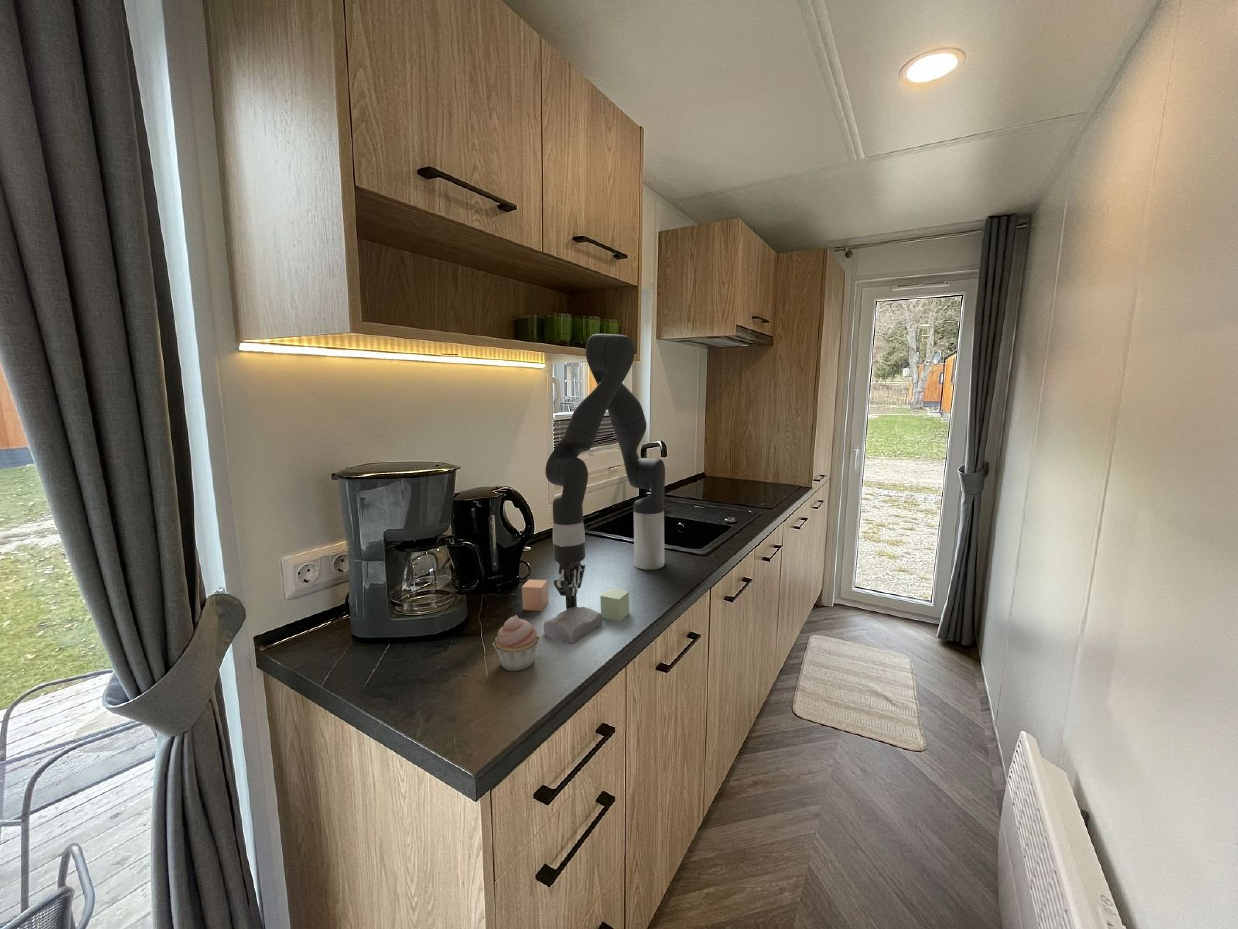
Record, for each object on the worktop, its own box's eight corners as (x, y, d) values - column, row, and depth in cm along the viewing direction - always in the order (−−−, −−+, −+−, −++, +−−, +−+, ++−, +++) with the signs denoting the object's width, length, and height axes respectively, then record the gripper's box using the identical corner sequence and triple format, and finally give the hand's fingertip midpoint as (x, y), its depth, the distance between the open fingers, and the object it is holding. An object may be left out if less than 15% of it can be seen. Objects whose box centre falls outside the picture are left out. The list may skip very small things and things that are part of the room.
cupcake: (551, 662, 99) (548, 615, 98) (510, 682, 93) (507, 631, 92) (525, 646, 106) (522, 601, 105) (485, 663, 100) (482, 616, 98)
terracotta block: (530, 601, 129) (528, 579, 128) (548, 602, 128) (547, 580, 127) (523, 609, 124) (521, 586, 123) (542, 610, 123) (541, 587, 123)
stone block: (540, 643, 111) (573, 646, 106) (536, 621, 111) (570, 624, 106) (574, 624, 121) (607, 626, 115) (571, 604, 121) (603, 606, 115)
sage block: (611, 609, 123) (610, 588, 123) (629, 613, 121) (628, 591, 120) (601, 617, 119) (600, 595, 118) (619, 621, 117) (618, 599, 116)
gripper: (566, 531, 126) (569, 596, 128) (541, 546, 113) (544, 618, 116) (594, 533, 123) (596, 600, 126) (571, 549, 111) (573, 623, 113)
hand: (571, 609), depth 121 cm, fingers closed
